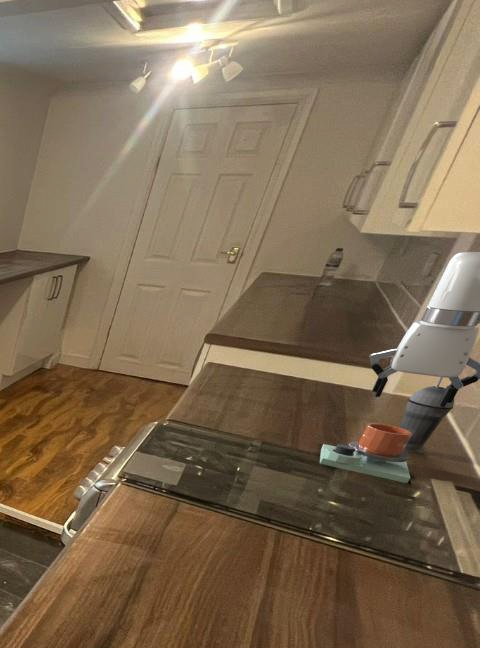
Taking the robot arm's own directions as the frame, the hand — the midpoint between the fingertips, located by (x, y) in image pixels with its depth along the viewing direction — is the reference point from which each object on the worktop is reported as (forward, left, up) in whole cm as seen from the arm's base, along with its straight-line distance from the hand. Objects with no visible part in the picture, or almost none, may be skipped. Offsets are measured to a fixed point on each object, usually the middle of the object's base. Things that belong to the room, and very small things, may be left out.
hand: (408, 400), depth 123 cm
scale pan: (0, 0, -15) cm, 15 cm away
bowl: (+1, 0, -12) cm, 12 cm away
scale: (+2, +2, -15) cm, 16 cm away
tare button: (+6, +5, -13) cm, 15 cm away
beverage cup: (-6, -20, -16) cm, 26 cm away
